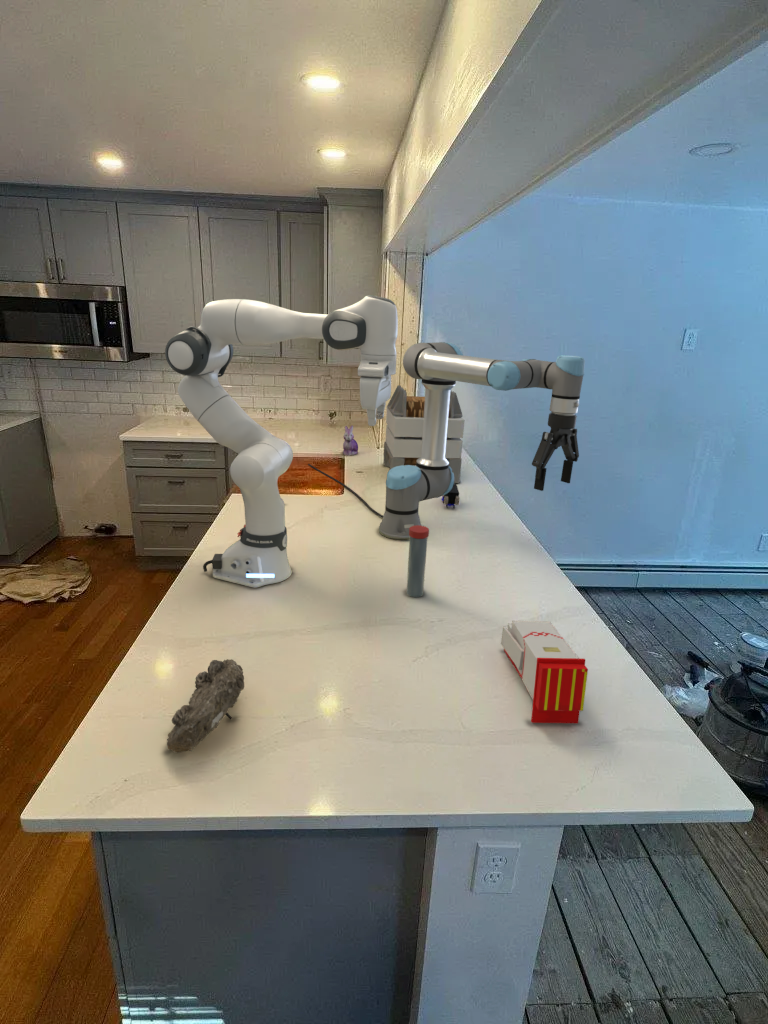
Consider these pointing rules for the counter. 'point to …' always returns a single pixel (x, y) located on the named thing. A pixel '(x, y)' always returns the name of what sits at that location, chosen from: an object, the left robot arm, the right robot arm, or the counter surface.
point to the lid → (418, 532)
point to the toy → (547, 670)
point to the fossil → (206, 705)
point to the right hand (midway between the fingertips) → (552, 485)
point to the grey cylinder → (416, 566)
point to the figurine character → (451, 497)
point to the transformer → (419, 431)
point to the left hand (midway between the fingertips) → (376, 422)
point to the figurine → (349, 442)
